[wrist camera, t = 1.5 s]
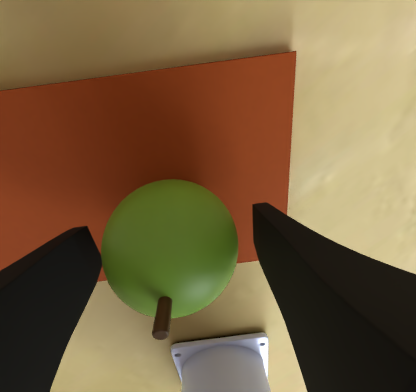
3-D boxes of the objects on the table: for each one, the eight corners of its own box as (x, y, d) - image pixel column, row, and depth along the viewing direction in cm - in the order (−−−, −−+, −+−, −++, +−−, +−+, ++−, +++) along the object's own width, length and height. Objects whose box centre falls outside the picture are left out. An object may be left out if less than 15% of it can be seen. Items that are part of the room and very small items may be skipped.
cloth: (282, 253, 14) (284, 257, 13) (-21, 292, 14) (-26, 297, 14) (292, 52, 9) (296, 50, 8) (-178, 115, 9) (-194, 116, 9)
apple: (231, 241, 13) (262, 374, 7) (141, 253, 13) (95, 396, 7) (223, 153, 10) (262, 240, 4) (112, 168, 10) (0, 275, 4)
